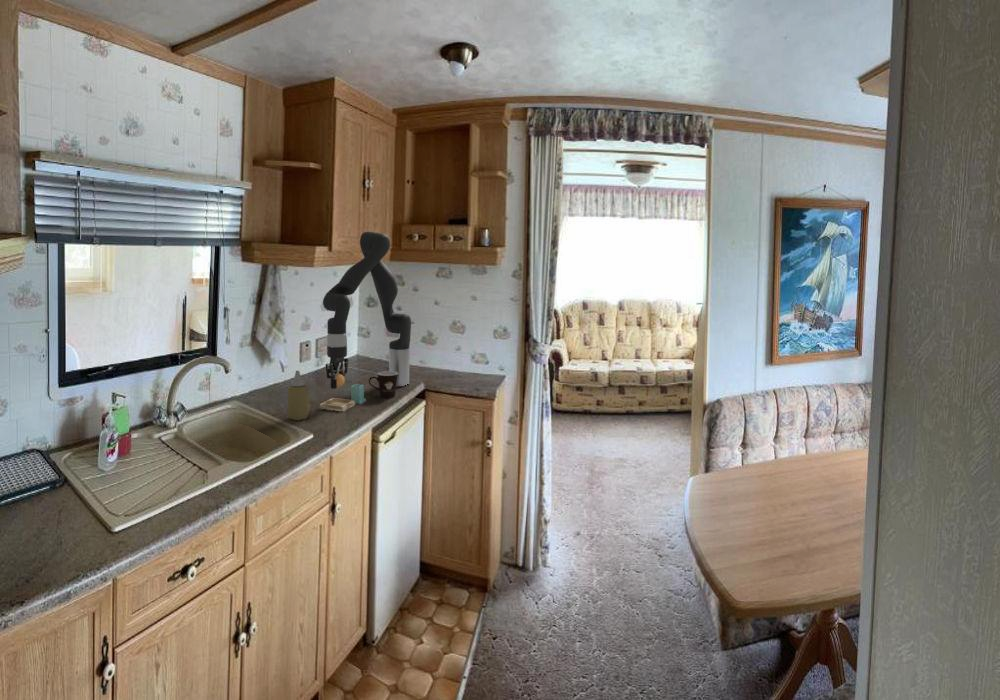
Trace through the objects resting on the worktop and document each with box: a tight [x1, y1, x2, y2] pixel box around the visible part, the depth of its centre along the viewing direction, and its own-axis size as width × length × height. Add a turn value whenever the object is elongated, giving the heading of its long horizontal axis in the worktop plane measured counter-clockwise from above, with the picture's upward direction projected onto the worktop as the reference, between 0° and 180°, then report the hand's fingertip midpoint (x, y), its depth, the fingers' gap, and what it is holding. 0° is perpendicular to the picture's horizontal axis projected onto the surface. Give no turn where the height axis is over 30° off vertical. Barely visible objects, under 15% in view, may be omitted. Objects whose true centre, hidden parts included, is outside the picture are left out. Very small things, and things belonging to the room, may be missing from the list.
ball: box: [329, 373, 346, 388], centre depth 225 cm, size 6×6×6 cm
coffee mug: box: [368, 370, 398, 399], centre depth 245 cm, size 12×9×10 cm
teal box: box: [350, 383, 367, 405], centre depth 234 cm, size 5×5×7 cm
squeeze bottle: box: [286, 370, 311, 421], centre depth 210 cm, size 8×8×18 cm
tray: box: [319, 397, 356, 412], centre depth 227 cm, size 10×10×2 cm
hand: (337, 386), depth 225 cm, fingers closed on ball, 5 cm apart
